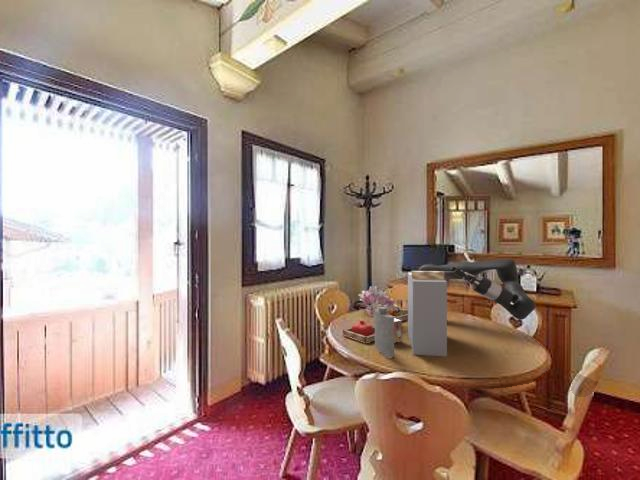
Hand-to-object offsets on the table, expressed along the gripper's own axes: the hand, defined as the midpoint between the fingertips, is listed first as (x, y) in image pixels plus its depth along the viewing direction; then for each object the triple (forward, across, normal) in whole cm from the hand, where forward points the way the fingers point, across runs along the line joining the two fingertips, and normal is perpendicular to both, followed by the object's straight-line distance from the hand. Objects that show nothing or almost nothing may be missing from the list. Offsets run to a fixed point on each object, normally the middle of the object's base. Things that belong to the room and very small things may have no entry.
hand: (453, 269), depth 151 cm
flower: (+11, -33, +49) cm, 60 cm away
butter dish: (+18, -13, +53) cm, 57 cm away
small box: (+5, -7, +45) cm, 46 cm away
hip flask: (+9, +8, +47) cm, 49 cm away
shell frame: (+5, -56, +45) cm, 72 cm away
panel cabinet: (-8, -7, +37) cm, 39 cm away
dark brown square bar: (+4, 0, +7) cm, 8 cm away
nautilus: (+5, -53, +45) cm, 70 cm away
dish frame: (+17, -12, +52) cm, 56 cm away
